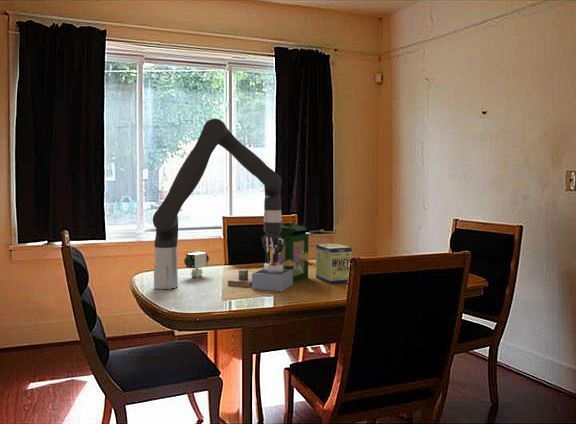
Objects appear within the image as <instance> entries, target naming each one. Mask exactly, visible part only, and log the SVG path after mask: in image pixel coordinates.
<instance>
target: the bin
mask: <svg viewBox="0 0 576 424" xmlns="http://www.w3.org/2000/svg"><path fill="white" fill-rule="evenodd" d="M251 278H252V286H251V288H252V290H260V291H261V290H262V291H273V292H274V291H275V292H283V291H285V290H287V289H288V288H290V287H292V286H293V285H294V282H293V270H289V269H283V274H282V275H276V274H264V267H263V268H261V269H258V270H256V271H254V272H252V273H251Z"/></svg>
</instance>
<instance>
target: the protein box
mask: <svg viewBox="0 0 576 424" xmlns="http://www.w3.org/2000/svg"><path fill="white" fill-rule="evenodd" d="M315 251H316V257H315V258H316V259H315V260H316V261H315V279H318V280H320V281H323V282H324V281H325V283H326V284H329V283H330V284H329V285H335V284H334V283H338V284H347V281H348V273H349V263H350V259H351V258H352V254H353V249H352V247H351V246H347V245H343V244H339V243H323V244H322V243H321V244H320V243H319V244H316V249H315Z"/></svg>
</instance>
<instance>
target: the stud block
mask: <svg viewBox="0 0 576 424" xmlns="http://www.w3.org/2000/svg"><path fill="white" fill-rule="evenodd" d="M227 286H232V287H241V288H242V287H243V288H244V287H245V288H250V287H251V288H252V276H251V277H249V269H239V270H238V276H236V277H233V278H231V279H228V280H227Z"/></svg>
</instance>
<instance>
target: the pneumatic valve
mask: <svg viewBox="0 0 576 424" xmlns="http://www.w3.org/2000/svg"><path fill="white" fill-rule="evenodd" d="M209 259H210V256H209V255H208V252H206V251H198V250H195V252H191V253H186V254H185V258H184V262H183V263H184V265H185V266H186V268H187V269H191V273H190V274H191V275H190V276H191V277H192V276H195V277H194V278H196V277H197V278H200V277H199V276H202V277H203V269H202V268H204V267H208V263H209Z"/></svg>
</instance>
